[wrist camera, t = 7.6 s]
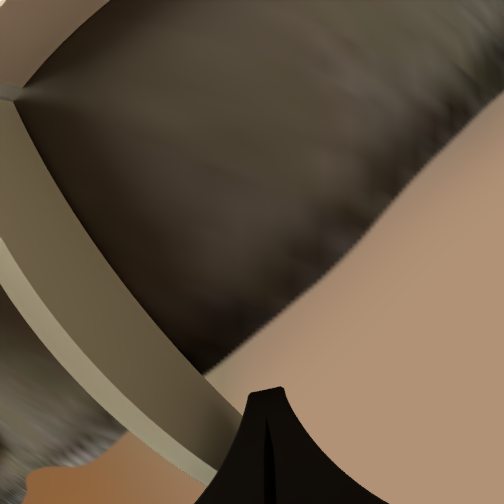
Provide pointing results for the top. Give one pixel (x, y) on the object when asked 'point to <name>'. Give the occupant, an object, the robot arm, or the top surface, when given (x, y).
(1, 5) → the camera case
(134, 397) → the cream flat bar
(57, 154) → the top surface
